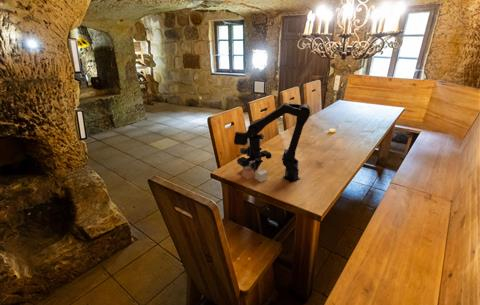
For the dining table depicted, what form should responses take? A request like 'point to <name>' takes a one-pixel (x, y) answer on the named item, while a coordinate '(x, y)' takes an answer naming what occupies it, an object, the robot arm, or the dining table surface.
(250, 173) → the terracotta cube
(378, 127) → the dining table surface
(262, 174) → the white cube
